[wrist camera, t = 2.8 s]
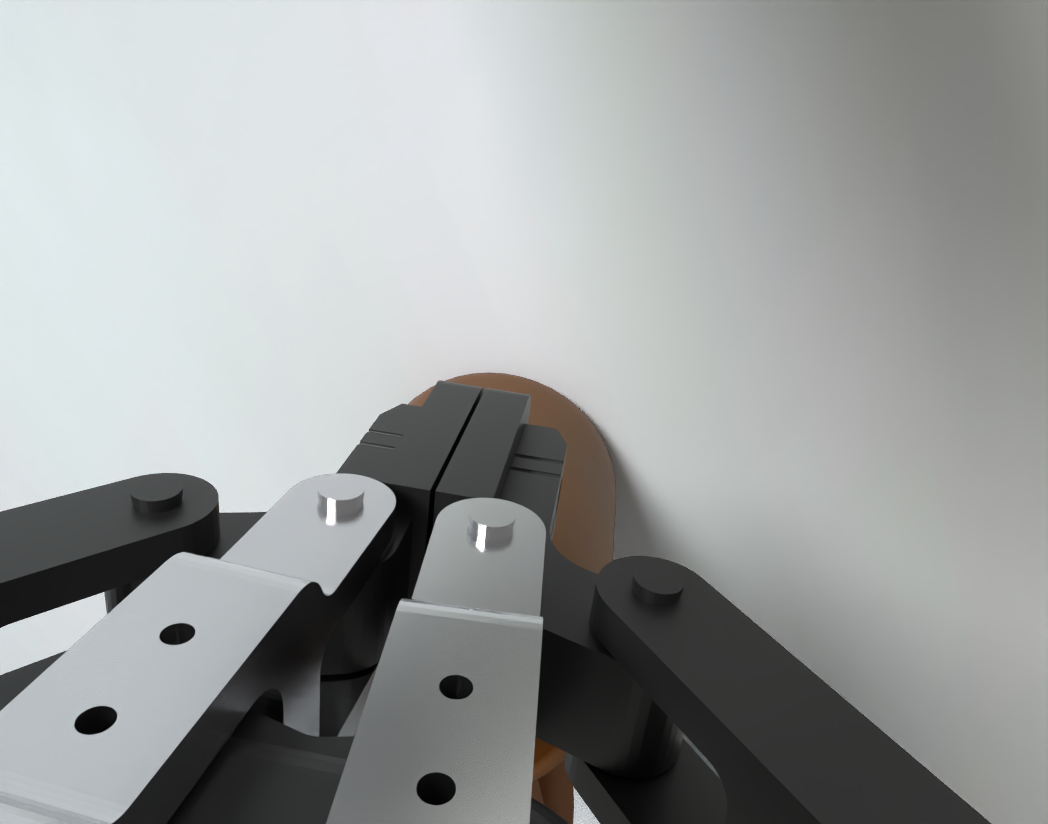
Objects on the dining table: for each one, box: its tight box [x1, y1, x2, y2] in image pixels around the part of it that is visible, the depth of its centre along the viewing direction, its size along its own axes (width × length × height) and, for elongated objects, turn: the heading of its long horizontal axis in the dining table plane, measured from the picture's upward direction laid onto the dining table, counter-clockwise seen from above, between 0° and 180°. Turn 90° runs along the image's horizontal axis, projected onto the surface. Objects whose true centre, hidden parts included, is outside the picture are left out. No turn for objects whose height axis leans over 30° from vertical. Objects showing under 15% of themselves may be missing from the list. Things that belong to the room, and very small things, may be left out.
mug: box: [354, 373, 616, 824], centre depth 23 cm, size 12×8×9 cm, turn 18°
